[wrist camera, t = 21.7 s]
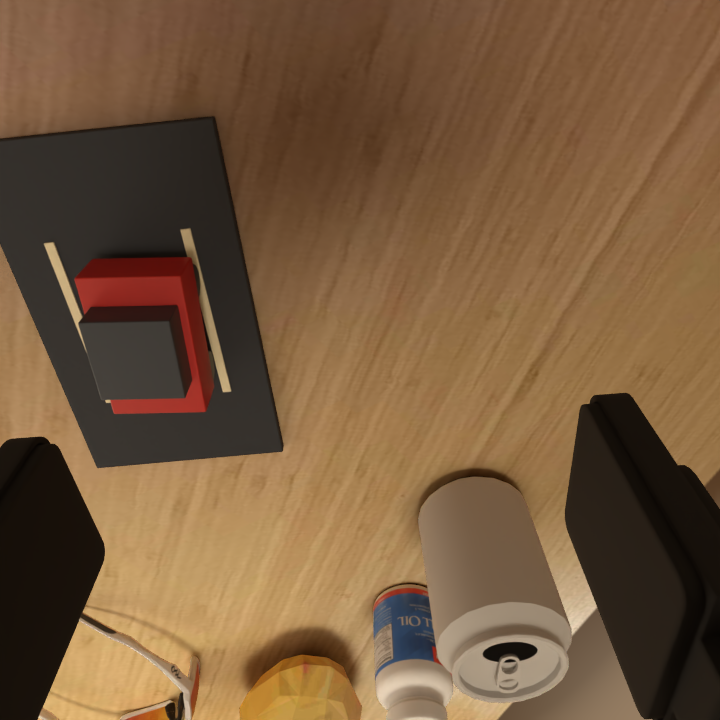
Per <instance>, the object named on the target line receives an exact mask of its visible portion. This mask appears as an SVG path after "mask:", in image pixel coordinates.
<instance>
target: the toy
mask: <svg viewBox="0 0 720 720" xmlns="http://www.w3.org/2000/svg"><path fill="white" fill-rule="evenodd" d="M239 709H240V720H360V717H361V710H362V706H361V704H360V702H359V700H358V698H357V696H356V694H355V692H354V690H353V688H352V686H351V684H350V682H349V679H348V677H347V675H346V672H345V670H344V668H343V666H341V665H340V664H338V663H336V662H334V661H333V660H331V659H329V658H326V657H318V656H309V655H298V656H295V657H291V658H287V659H283V660H282V661H280V662H279V663H278V664H276V665H275V666H274V667H272V668H271V669H270V670H268V671H267V672H266V673H264V674H263V675H262V676H261V677H260V679H259V680H258V681H257V682H256V684H255V685H254V686H253V688H252V689H251V690H250V692H249V693H248V694H247V696H246V698H245V699H244V701H243V703H242V704H241V706H240V708H239Z"/></svg>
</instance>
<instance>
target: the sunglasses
mask: <svg viewBox="0 0 720 720" xmlns="http://www.w3.org/2000/svg"><path fill="white" fill-rule="evenodd" d="M79 621H81V622H82V623H84V624H86V625H87V626H89V627H91V628H93V629H94V630H96V631H98V632H100V633H101V634H103V635H105V636H107V637H108V638H110V639H112V640H115V641H117V642H120V643H122V644H124V645H126V646H128V647H130V648H132V649H133V650H135V651H136V652H138V653H139V654H140V655H142V656H143V657H145V658H146V659H148V660H149V661H150V662H151V663H153V664H154V665H155V666H156V667H158V668H159V669H160V670H161V671H162V672H163V673H164V674H165V675H166V676H167V677H168V678H169V679H170V680H171V681H172V682H173V683H174V684H175V685H176V686H177V687H178V688H179V689H180V690H181V691H182V693H181V694H180V696H179V701H178V707H177V704H176V702H174V701H171V700H169V701H166V702H163V703H160V704H157V705H154V706H150V707H147V708H144V709H140V710H137V711H134V712H130V713H127V714H124V715H123V716H122V717H121V719H120V720H192V717H193V714H194V710H195V705H196V701H197V695H198V689H199V674H200V663H199V659H198V657H196V656H191V661H190V669H189V674H188V677H187V676H185V675H184V674H183V673H182V672H181V671H180V669H179V668H178V667H177V666H176V665H175V664H172V663H170V662H167V661H165V660H164V659H162V658H160V657H158V656H157V655H155V654H154V653H152V652H151V651H149V650H148V649H146V648H145V647H143V646H142V645H141V644H140V643H138V642H137V641H136V640H135V639H133V638H132V637H131V636H128V635H126V634H123V633H121V632H118V631H116V630H114V629H112V628H110V627H109V626H107V625H105V624H103V623H101V622H99V621H97V620H95V619H94V618H92V617H90V616H88V615H87V614H85V613H83V612H82V614H81V617H80V619H79ZM39 718H41V719H43V720H59V719H58V718H57V717H56V716H55V715H53V714H52V713H51V712H49V711H47V710H45V709H43V708H42V710H41V712H40V715H39Z"/></svg>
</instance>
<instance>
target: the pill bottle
mask: <svg viewBox="0 0 720 720" xmlns="http://www.w3.org/2000/svg"><path fill="white" fill-rule="evenodd" d="M373 627H374V659H375V685H376V695H377V698H378V700H379V702H380V704H381V705H382V706H383V707H384V708H385V709H386V710H388V711H387V715H386V720H447V712H446V708H445V706H446V705H447V704H448V703H449V701H450V700H451V698H452V695H453V680H452V674H451V673H450V672H449V671H447V669H446V668H445V667H444V666H443V665H442V664H441V662H440V661H439V659H438V655H437V650H436V644H435V637H434V630H433V623H432V616H431V609H430V602H429V595H428V588H425V587H423V586H419V585H413V584H406V585H399V586H395V587H392V588H390V589H388V590H386V591H384V592H383V593H382V594H381V595H379V597H378V598H377V599H376V601H375V603H374V608H373Z"/></svg>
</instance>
